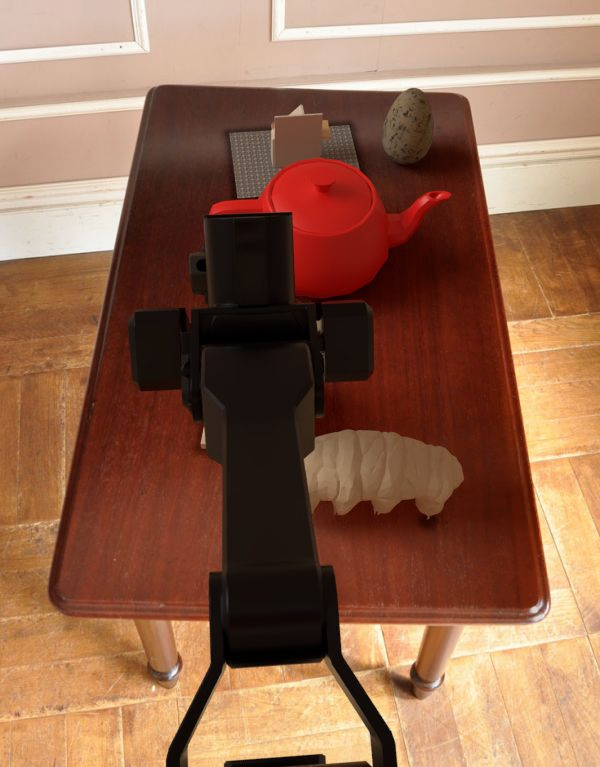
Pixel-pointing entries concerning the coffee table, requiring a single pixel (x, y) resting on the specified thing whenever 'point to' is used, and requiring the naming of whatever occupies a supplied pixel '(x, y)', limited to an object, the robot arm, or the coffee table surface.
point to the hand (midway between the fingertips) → (251, 329)
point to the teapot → (334, 223)
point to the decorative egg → (408, 127)
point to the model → (380, 471)
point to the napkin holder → (286, 149)
